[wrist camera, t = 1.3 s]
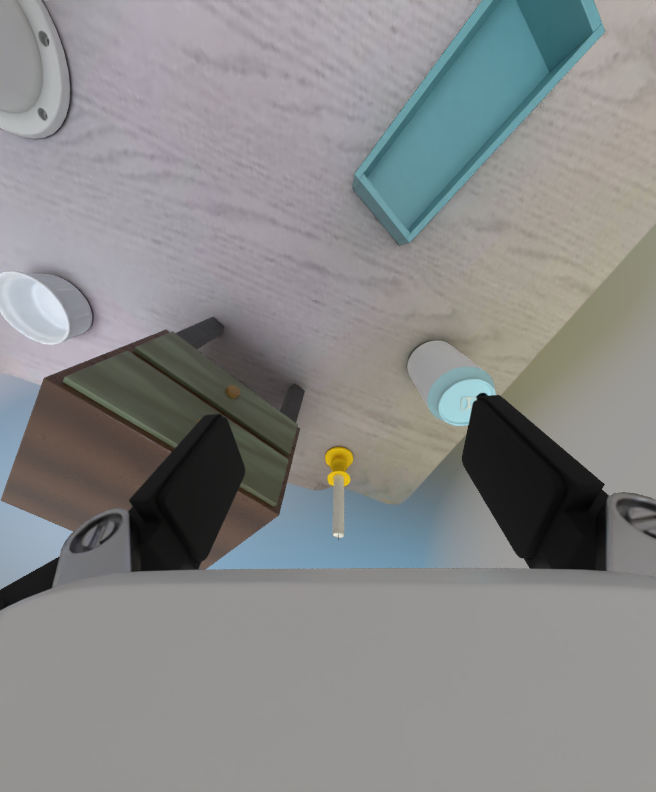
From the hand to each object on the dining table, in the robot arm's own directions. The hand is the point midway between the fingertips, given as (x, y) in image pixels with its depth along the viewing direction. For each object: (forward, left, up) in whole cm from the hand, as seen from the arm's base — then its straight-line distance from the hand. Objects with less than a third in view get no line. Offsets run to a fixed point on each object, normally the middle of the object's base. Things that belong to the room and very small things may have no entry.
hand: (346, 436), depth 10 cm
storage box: (-10, +17, -27) cm, 33 cm away
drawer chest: (+3, -21, -27) cm, 34 cm away
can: (+13, +8, -27) cm, 31 cm away
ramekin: (-19, -34, -27) cm, 48 cm away
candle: (+23, -12, -27) cm, 38 cm away
